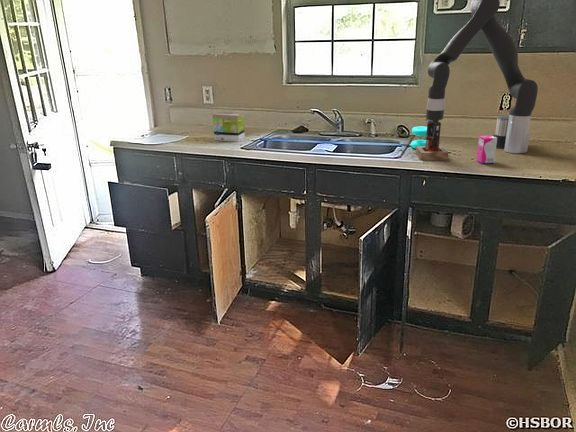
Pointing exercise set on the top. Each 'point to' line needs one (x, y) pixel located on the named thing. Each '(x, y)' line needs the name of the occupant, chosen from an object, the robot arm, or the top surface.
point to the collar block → (431, 154)
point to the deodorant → (429, 138)
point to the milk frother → (501, 131)
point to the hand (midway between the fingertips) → (432, 145)
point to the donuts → (419, 132)
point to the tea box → (229, 126)
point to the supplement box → (486, 149)
